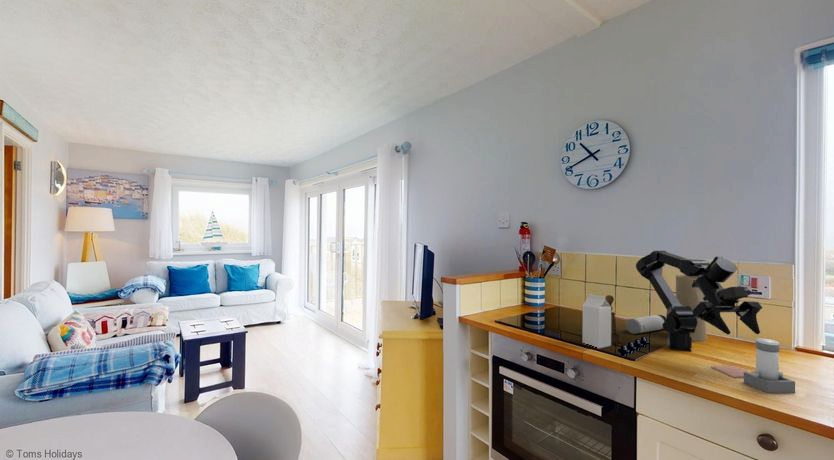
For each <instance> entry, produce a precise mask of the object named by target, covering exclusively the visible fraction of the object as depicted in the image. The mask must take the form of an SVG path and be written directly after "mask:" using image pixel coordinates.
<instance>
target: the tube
mask: <svg viewBox="0 0 834 460" xmlns="http://www.w3.org/2000/svg"><path fill="white" fill-rule="evenodd" d="M698 277H699V276H686V275H685V274H680V275H675V296H676V298H677V299H678V301H679V302H680V304H681V305H682V306H689V307H690V308H691V309H692V311H693V309H694V308H695V307H696V306H697V305H698V304H699V303H700V302H707V301H704V300H703V298H704V297H705V296H704V294H703V293H702V292H701V290H700V289H699V288H693V287H692V283H693V280H696V279H697V278H698ZM690 337H691V338H692V342H697V343H698V342H699V343H702V342H706V341H707V322H706V321H704V320H701V319H700V318H697V326H696V329H695V332H694V333H690Z"/></svg>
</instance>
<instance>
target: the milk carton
mask: <svg viewBox="0 0 834 460" xmlns="http://www.w3.org/2000/svg"><path fill="white" fill-rule="evenodd" d="M605 297H606V296H604V295H603V296H602V295H597V294H591V293H588V297H587V298H586V300H585V301H584V303H583V304H582V344H583V343H585V344H584V345H586V344H589V345H592V346H594V347H593V348H595V347H597V348H596V349H603V348H607V347H611V346H612V343H611V312H612V311H611V306H612V305H611V306H610V305H609V303H608V302H607V301H606V300H605ZM589 345H588V346H589ZM592 346H591V347H592Z"/></svg>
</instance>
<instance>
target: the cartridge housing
mask: <svg viewBox="0 0 834 460" xmlns="http://www.w3.org/2000/svg"><path fill="white" fill-rule="evenodd" d="M750 372H751V374H750V373H748V372H744V378H743V383H744V384H747V385H749V386H751V387H754V388H756V389H758V390H760V391H762V392H765V393H767V394H780V393H781V394H785V393H786V394H787V393H789V394H790V393H792V394H793V393H796V381H795V380H792V379H789V378H787V377H784V371H781V370H779V381H767V380H765V379H762V378H760V377H759V372H757V371H756V370H751V371H750Z"/></svg>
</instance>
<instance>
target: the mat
mask: <svg viewBox="0 0 834 460" xmlns="http://www.w3.org/2000/svg"><path fill="white" fill-rule="evenodd" d="M711 369H713V370H715V371H718V372H720V373H722V374H724V375H727V376H728V377H731V378H733V379H744V372H748V373H750V374H751V371H750V370H747V369H744V368H742V367H739V366H736V365H711Z"/></svg>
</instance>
